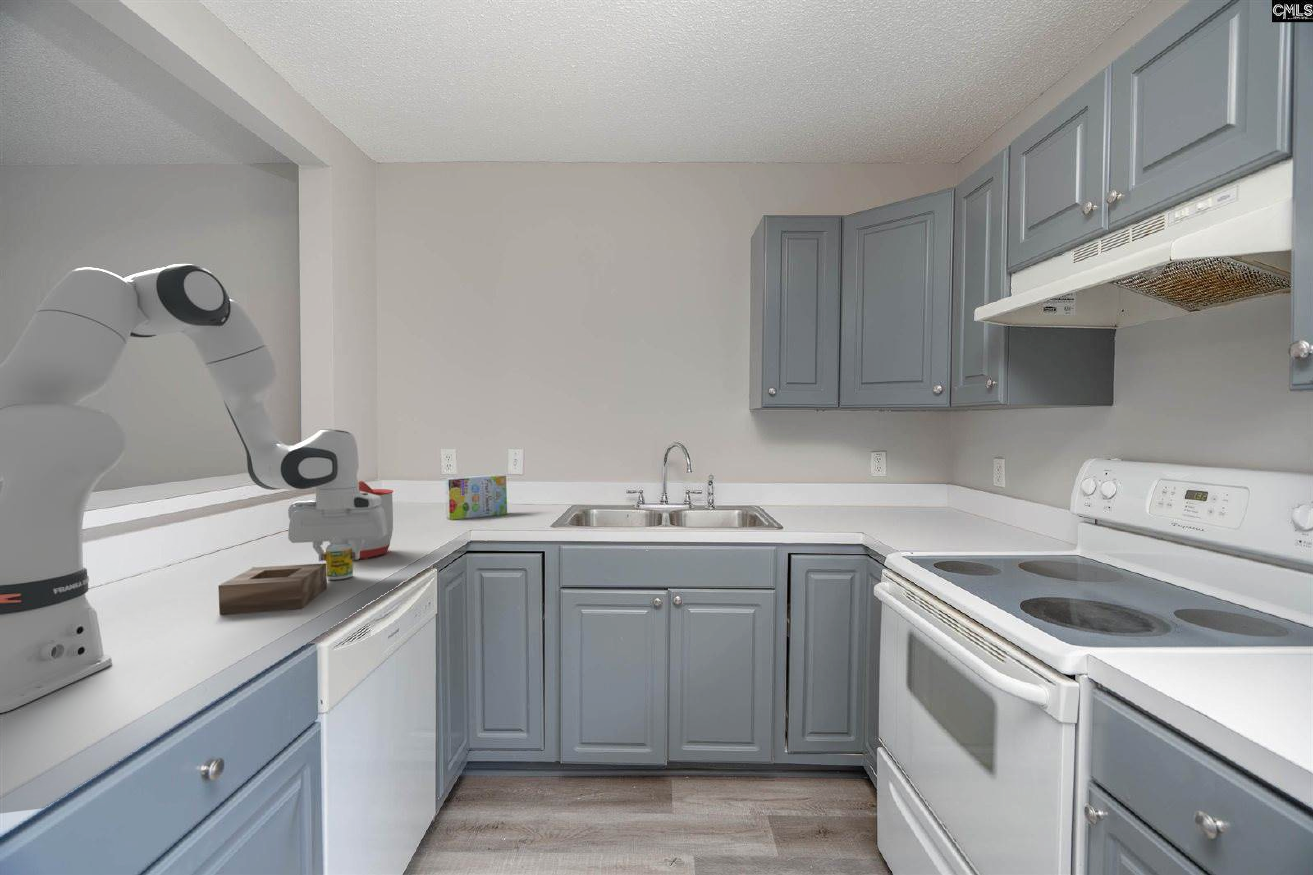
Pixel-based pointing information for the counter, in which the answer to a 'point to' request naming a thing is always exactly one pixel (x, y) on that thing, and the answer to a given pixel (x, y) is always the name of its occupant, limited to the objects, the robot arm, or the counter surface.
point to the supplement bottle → (339, 559)
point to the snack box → (476, 496)
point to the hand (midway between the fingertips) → (339, 560)
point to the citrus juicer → (381, 545)
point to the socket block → (272, 588)
